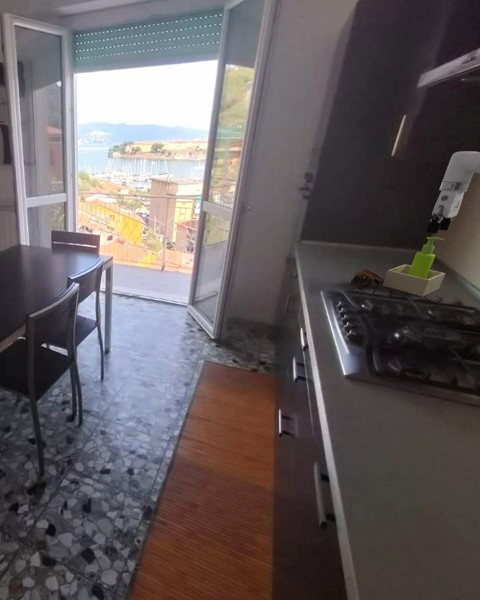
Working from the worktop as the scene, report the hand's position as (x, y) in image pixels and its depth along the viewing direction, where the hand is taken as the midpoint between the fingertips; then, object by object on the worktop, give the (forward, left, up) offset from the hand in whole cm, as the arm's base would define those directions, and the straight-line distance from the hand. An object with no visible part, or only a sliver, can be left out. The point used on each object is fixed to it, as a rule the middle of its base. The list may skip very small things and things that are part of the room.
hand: (436, 231), depth 142 cm
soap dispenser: (0, -1, -23) cm, 23 cm away
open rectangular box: (0, +3, -24) cm, 24 cm away
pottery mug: (+10, +19, -24) cm, 32 cm away
